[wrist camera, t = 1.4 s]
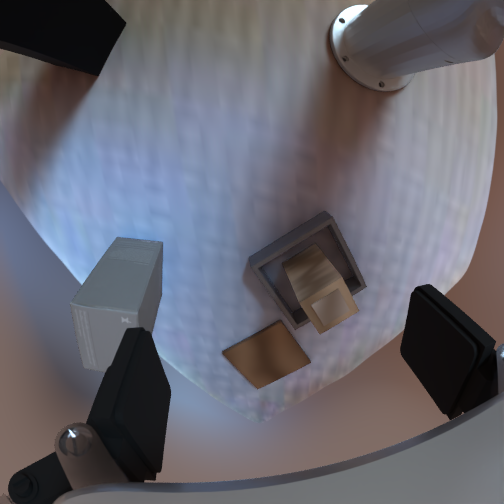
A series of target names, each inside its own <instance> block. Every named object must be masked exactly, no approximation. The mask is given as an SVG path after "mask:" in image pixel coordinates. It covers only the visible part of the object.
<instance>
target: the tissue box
mask: <svg viewBox="0 0 504 504" xmlns="http://www.w3.org/2000/svg"><path fill="white" fill-rule="evenodd" d="M125 25H126V22H125V21H124V20H123V19H122V18H121V17H120V16H119V14H118V13H117V12H116V11H115V10H114V9H113V8H112V7H111V6H110V5H109V4H108V3H107V2H106V1H105V0H0V49H4V50H7V51H11V52H15V53H18V54H22V55H25V56H29V57H32V58H35V59H38V60H41V61H44V62H48V63H51V64H54V65H57V66H61V67H66V68H70V69H74V70H78V71H81V72H85V73H89V74H92V75H96V76H99V74H100V72H101V70H102V68H103V66H104V63H105V61H106V60H107V58H108V56H109V54H110V52H111V50H112V48H113V46H114V44H115V42H116V41H117V39H118V37H119V35H120V34H121V32H122V30H123V28H124V26H125Z"/></svg>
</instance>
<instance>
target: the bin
mask: <svg viewBox="0 0 504 504" xmlns="http://www.w3.org/2000/svg"><path fill="white" fill-rule="evenodd" d="M326 226H328V227H329V229H330V231H331V233H332V235H333V237H334V239H335V241H336V243H337V245H338V247H339V248H340V250H341V252H342V254H343V256H344V258H345V260H346V262H347V264H348V266H349V268H350V270H351V272H352V274H353V277H351V278H350V279H348V280H346V281H345V284H346V286H347V287H348V289H349V291H350V293H351V295H352V296H353V295H355V294H356V293H358V292H359V291H361V290H363V289H364V288H366V287H367V286H366V284H365V282H364V279H363V277H362V275H361V273H360V271H359V269H358V267H357V265H356V262H355V260H354V258H353V256H352V254H351V252H350V250H349V248H348V246H347V244H346V242H345V240H344V238H343V236H342V234H341V232H340V230H339V228H338V226H337V224H336V222H335V220H334V219H333V217H332V216H331V215H330V214H328V213H327V212H326V211H324V212H322V213H320V214H319V215H317V216H315V217H314V218H312V219H311V220H309V221H307V222H306V223H304V224H302V225H301V226H299V227H298V228H296V229H294V230H293V231H291V232H289V233H288V234H286V235H285V236H283V237H281V238H280V239H278V240H276V241H275V242H273V243H272V244H270V245H268V246H267V247H265V248H263V249H262V250H260V251H259V252H257V253H255V254H254V255H252V256H250V257H249V261H250V266H251V268H252V270H253V271H254V273H255V274H256V275H257V277H258V278H259V280H260V281H261V282H262V284H263V285H264V287H265V288H266V290H267V291H268V292H269V294H270V295H271V297H272V298H273V299H274V301H275V302H276V304H277V305H278V306H279V308H280V309H281V311H282V312H283V314H284V315H285V316H286V318H287V319H288V321H289V322H290V323H291V325H292V326H293V328H294V329H295V330H296V329H298V328H299V327H301V326H303V325H305V324H307V323H308V322H310V321H311V320H310V319H309V317H308V316H307V314H306V313H305V311H304V310H303V308H300V309H298V310H297V311H295V312H293V313H292V311H291V310H290V308H289V307H288V305H287V304H286V302H285V301H284V300H283V298H282V297H281V295H280V294H279V292H278V291H277V289H276V288H275V286H274V285H273V284H272V282H271V281H270V279H269V278H268V276H267V275H266V273H265V272H264V270H263V269H262V268H261V266H263V265H264V264H266V263H268V262H269V261H271V260H273V259H274V258H276V257H278V256H279V255H281V254H282V253H284V252H286V251H287V250H289V249H291V248H292V247H294V246H295V245H297V244H299V243H300V242H302V241H304V240H305V239H307V238H308V237H310V236H312V235H313V234H315V233H317V232H318V231H320V230H321V229H323V228H325V227H326Z"/></svg>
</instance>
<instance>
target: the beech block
mask: <svg viewBox="0 0 504 504" xmlns="http://www.w3.org/2000/svg"><path fill="white" fill-rule="evenodd" d="M282 264H283V267H284V269H285V271H286V274H287V276H288V278H289V281H290V283H291V285H292V288H293V290H294V292H295V295H296V297H297V299H298V302H299V304H300V305H301V307H302V308H303V310H304V311H305V313H306V314H307V316H308V317H309V319H310V320H311V322H312V324H313V325H314V327H315V328H316V330H317V331H318V333H319V334H322V333H323V332H325V331H327V330H329V329H330V328H332V327H334V326H335V325H337V324H339V323H340V322H342V321H344V320H345V319H347V318H349V317H350V316H352V315H353V314H355V313H357V312H358V311H359V309H358V307H357V305H356V303H355V301H354V299H353V297H352V295H351V293H350V291H349V289H348V287H347V286H346V284H345V282H344V280H343V278H342V276H341V275H340V274H339V272H338V271H337V270H336V269H335V267H334V266H333V265H332V264H331V262H330V261H329V260H328V259H327V257H326V256H325V255H324V253H323V252H322V251H321V250H320V249H319V247H318V246H317V245H316V244H315V243H314V244H313V245H311V246H309V247H308V248H306V249H305V250H303V251H301V252H300V253H298V254H296V255H295V256H293V257H292V258H290V259H288V260H287V261H285V262H283V263H282Z"/></svg>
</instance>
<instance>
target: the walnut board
mask: <svg viewBox="0 0 504 504" xmlns="http://www.w3.org/2000/svg"><path fill="white" fill-rule="evenodd" d="M223 355H224V356H225V357H226V358H227V359H228V360H229V361H230V362H231V363H232V364H233V365H234V366H235V367H236V368H237V369H238V370H239V371H240V372H241V373H242V374H243V375H244V376H245V377H246V378H247V379H248V380H249V381H250V382H251V383H252V384H253V385H254V386H255V387H256V388H257V389H259V388H261V387H264V386H266V385H268V384H270V383H272V382H274V381H276V380H278V379H280V378H282V377H284V376H286V375H288V374H290V373H292V372H294V371H296V370H298V369H300V368H302V367H304V366H306V365H307V364H309V363H311V361H310V359H309V358H308V357H307V355H306V354H305V352H304V351H303V350H302V348H301V347H300V346H299V344H298V343H297V342H296V340H295V339H294V338H293V336H292V335H291V333H290V332H289V331H288V329H287V328H286V327H285V325H284V324H283V323H282V321H281V320H279V321H277V322H276V323H274V324H272V325H270V326H268V327H267V328H265V329H263V330H261V331H259V332H258V333H256V334H254V335H252V336H250V337H248V338H246V339H245V340H243V341H241V342H239V343H237V344H235V345H233V346H231V347H229V348H227V349H226V350H224V351H223Z"/></svg>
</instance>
